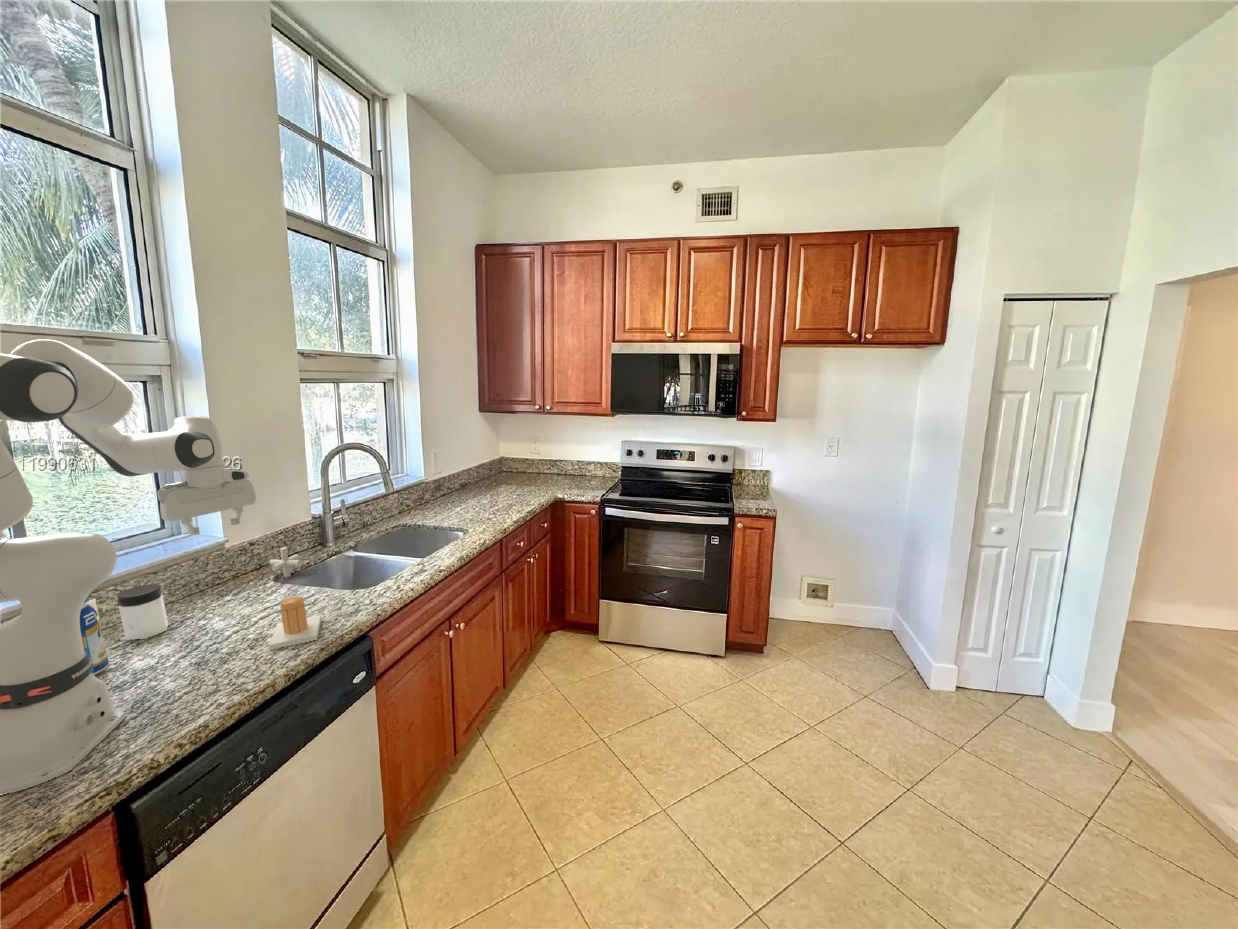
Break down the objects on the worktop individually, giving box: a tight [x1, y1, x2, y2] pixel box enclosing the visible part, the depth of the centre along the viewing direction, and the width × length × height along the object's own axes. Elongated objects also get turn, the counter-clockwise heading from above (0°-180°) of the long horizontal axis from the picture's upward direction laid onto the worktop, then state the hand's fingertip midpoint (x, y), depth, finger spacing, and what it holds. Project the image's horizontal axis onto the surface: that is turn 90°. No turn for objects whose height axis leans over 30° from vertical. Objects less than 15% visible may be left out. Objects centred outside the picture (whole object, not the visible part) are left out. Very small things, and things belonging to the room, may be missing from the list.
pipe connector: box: [269, 546, 302, 578], centre depth 165 cm, size 10×10×10 cm
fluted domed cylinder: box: [280, 595, 308, 634], centre depth 128 cm, size 5×5×8 cm
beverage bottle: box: [80, 595, 110, 676], centre depth 111 cm, size 8×8×20 cm
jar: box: [116, 583, 169, 641], centre depth 129 cm, size 9×8×12 cm
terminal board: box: [268, 614, 322, 651], centre depth 128 cm, size 12×10×6 cm
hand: (216, 529), depth 130 cm, fingers open, 8 cm apart
